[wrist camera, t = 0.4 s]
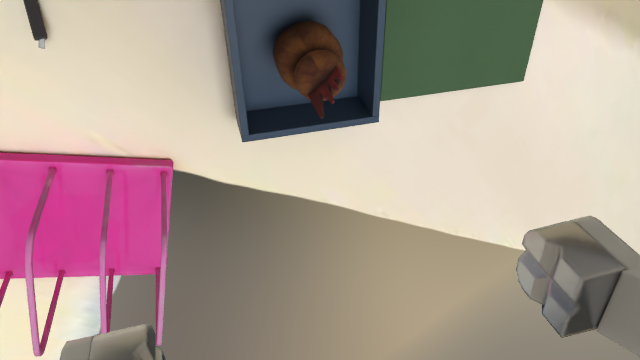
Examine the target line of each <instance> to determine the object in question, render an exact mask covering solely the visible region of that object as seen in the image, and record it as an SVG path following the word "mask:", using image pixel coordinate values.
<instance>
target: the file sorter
mask: <svg viewBox="0 0 640 360" xmlns="http://www.w3.org/2000/svg"><path fill="white" fill-rule="evenodd" d="M172 175H173V161H171V160H156V159H134V158H111V157H89V156H67V155H43V154H20V153H0V279H4V281H3V283H2V286H1V289H0V306H1V304H2V301H3V298H4V295H5V292H6V289H7V286H8V283H9V280H10V278H26V285H27V296H28V305H29V315H30V325H31V335H32V344H33V351H34V355H35V356H42V355H43V353H44V350H45V347H46V344H47V340H48V336H49V332H50V328H51V324H52V320H53V316H54V312H55V308H56V304H57V300H58V296H59V292H60V288H61V284H62V280H63V277H79V276H100V309H101V334H102V333H107V332H110V318H111V304H112V290H113V276H114V275H145V274H156V345H161V342H162V329H163V312H164V295H165V277H166V264H167V248H168V235H169V219H170V205H171V191H172V177H173V176H172ZM106 276H109V280H108V291H107V304H106ZM44 277H58V279H57V282H56V286H55V290H54V294H53V298H52V301H51V305H50V309H49V313H48V317H47V320H46V324H45V328H44V332H43V336H42V340H41V343H39V333H38V323H37V313H36V302H35V292H34V279H33V278H44Z"/></svg>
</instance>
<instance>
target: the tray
mask: <svg viewBox="0 0 640 360" xmlns="http://www.w3.org/2000/svg"><path fill="white" fill-rule="evenodd" d="M220 1H221V9H222V16H223V24H224V31H225V39H226V46H227V54H228V61H229V69H230V76H231V84H232V91H233V99H234V106H235V114H236V119H237V123H238V127H239V131H240V134H241V138H242V142H248V141H255V140H262V139H268V138H275V137H282V136H288V135H295V134H302V133H308V132H315V131H322V130H329V129H335V128H342V127H349V126H355V125H362V124H369V123H375V122H379V107H380V91H381V74H382V58H383V42H384V26H385V9H386V0H220ZM305 21H315V22H318V23H320V24H323V25H325V26H326V27H327V28H328V29H329V30H330V31H331V32H332V34H333V35H334V36H335V37H336V38H337V40H338V41H339V43H340V45H341V48H342V50H343V63H344V65H345V68H346V70H347V75H346V82H345V84H344V86H343V88H342V90H341V91H340V92H339V93H338V94H337V95H336V96H335V97H333V98H334V101H335V102H334V103H333V104H332V103H331V102H330V101H329V100H326V101H323V108H324V117H323V118H322V119H321V118H320V116H319V115H318V113H317V111H316V109H315V107H314V106H313V104H312V102H311V100H310V99H307V98H306V97H304V96H303V95H302V94H300V92H299V91H298V90H296V89H293V88H291V87H290V86H289V85H288V84H286V83H285V82H284V81H283V80H282V78H281V76H280V74H279V72H278V69H277V67H276V64H275V60H274V56H273V48H274V45H275V42H276V39H277V37H278V36H279V35H280V34H281V33H282V32H283V31H284V30H285V29H286V28H288V27H289V26H291V25H293V24H296V23H299V22H305Z"/></svg>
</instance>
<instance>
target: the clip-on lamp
mask: <svg viewBox="0 0 640 360" xmlns="http://www.w3.org/2000/svg"><path fill="white" fill-rule="evenodd" d="M24 4H25V8H26V11H27V15H28V19H29V22H30V26H31V30H32V33H33V37H34V39H35V40H39V48H42V49H45V40H46V39H47V34H46V30H45V26H44V22H43V19H42V15H41V11H40V8H39V4H38V0H24Z"/></svg>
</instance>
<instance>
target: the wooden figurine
mask: <svg viewBox="0 0 640 360" xmlns="http://www.w3.org/2000/svg"><path fill="white" fill-rule="evenodd" d="M273 56H274V60H275V64H276V67H277V69H278V72H279V74H280V76H281V78H282V80H283V81H284V82H285V83H286V84H288V85H289V86H290V87H291V88H293V89H296V90H298V91H299V92H300V94H302V95H303V96H304V97H306V98H307V99H310V100H311V102H312V104H313V106H314V107H315V109H316V111H317V113H318V115H319V116H320V118H321V119H322V118H323V117H324V108H323V101H326V100H329V101H330V102H331V103H332V104H333V103H334V102H335V101H334V98H333V97H335V96H336V95H337V94H338V93H339V92H340V91H341V90H342V88H343V86H344V84H345V82H346V75H347V70H346V68H345V65H344V63H343V50H342V48H341V45H340V43H339V41H338V40H337V38H336V37H335V36H334V35H333V34H332V32H331V31H330V30H329V29H328V28H327V27H326V26H325V25H323V24H320V23H318V22H315V21H305V22H299V23H296V24H293V25H291V26H289V27H288V28H286V29H285V30H284V31H283V32H282V33H281V34H280V35H279V36H278V37H277V39H276V42H275V45H274V48H273Z"/></svg>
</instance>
